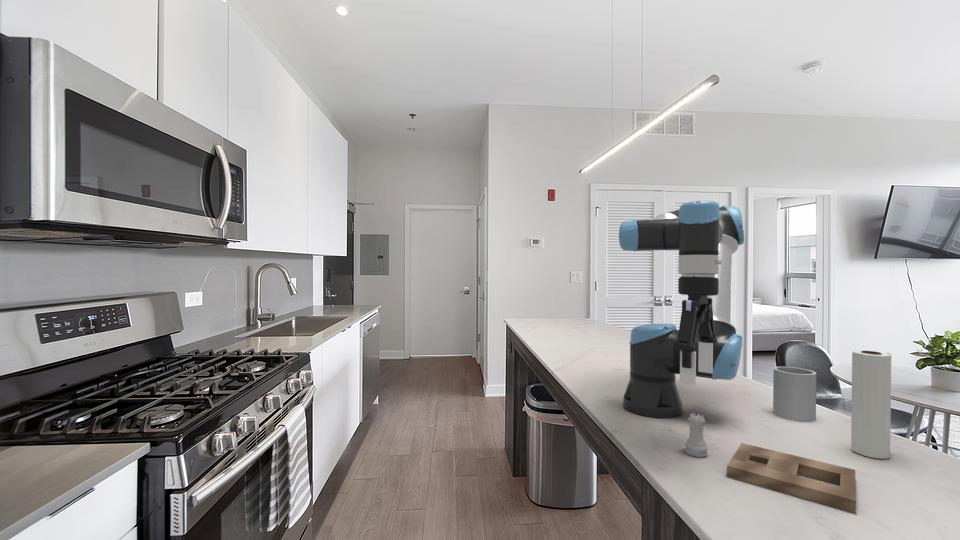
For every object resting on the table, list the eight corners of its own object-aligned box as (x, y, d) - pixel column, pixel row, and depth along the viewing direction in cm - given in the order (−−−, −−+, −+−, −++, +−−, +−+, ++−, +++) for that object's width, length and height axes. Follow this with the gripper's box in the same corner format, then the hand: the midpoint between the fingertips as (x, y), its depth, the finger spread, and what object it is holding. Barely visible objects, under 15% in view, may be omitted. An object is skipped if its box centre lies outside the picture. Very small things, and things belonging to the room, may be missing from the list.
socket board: (726, 476, 79) (726, 465, 79) (741, 452, 90) (741, 442, 90) (855, 513, 68) (856, 500, 68) (855, 480, 78) (855, 469, 78)
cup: (818, 424, 107) (818, 376, 107) (773, 417, 112) (774, 371, 112) (813, 414, 115) (813, 369, 115) (772, 408, 120) (772, 365, 119)
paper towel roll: (859, 457, 88) (860, 353, 88) (845, 445, 94) (846, 348, 94) (903, 462, 86) (905, 356, 86) (887, 450, 91) (888, 351, 91)
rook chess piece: (711, 459, 87) (711, 419, 87) (687, 457, 88) (688, 418, 88) (704, 450, 91) (704, 412, 91) (681, 448, 92) (682, 411, 92)
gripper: (702, 276, 77) (700, 393, 77) (731, 276, 96) (730, 370, 96) (659, 275, 82) (658, 386, 82) (695, 275, 101) (694, 365, 101)
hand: (697, 378), depth 89 cm, fingers open, 13 cm apart
